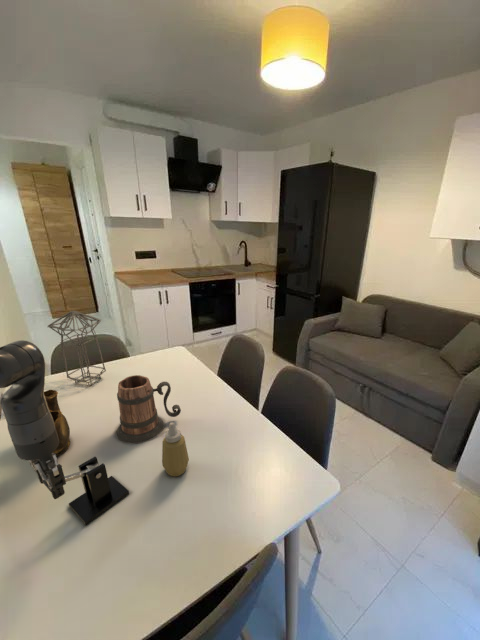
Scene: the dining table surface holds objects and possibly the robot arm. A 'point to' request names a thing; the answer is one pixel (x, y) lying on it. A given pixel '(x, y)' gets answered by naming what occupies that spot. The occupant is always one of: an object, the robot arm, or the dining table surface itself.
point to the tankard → (140, 409)
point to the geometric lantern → (82, 316)
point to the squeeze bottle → (174, 452)
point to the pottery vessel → (58, 422)
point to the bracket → (97, 492)
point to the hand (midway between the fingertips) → (52, 488)
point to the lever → (75, 474)
